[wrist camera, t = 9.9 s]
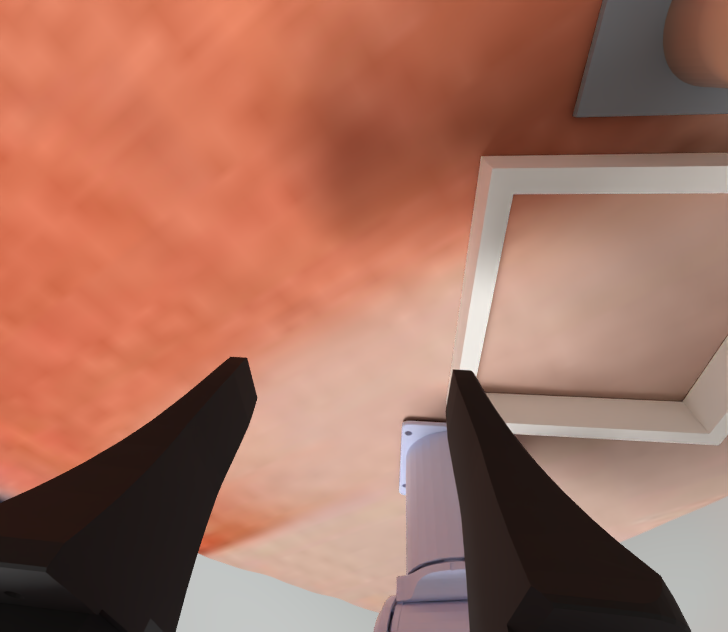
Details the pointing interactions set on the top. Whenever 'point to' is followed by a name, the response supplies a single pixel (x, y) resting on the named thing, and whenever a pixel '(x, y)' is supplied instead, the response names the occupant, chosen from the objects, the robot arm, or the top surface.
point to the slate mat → (637, 68)
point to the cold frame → (489, 222)
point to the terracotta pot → (697, 42)
